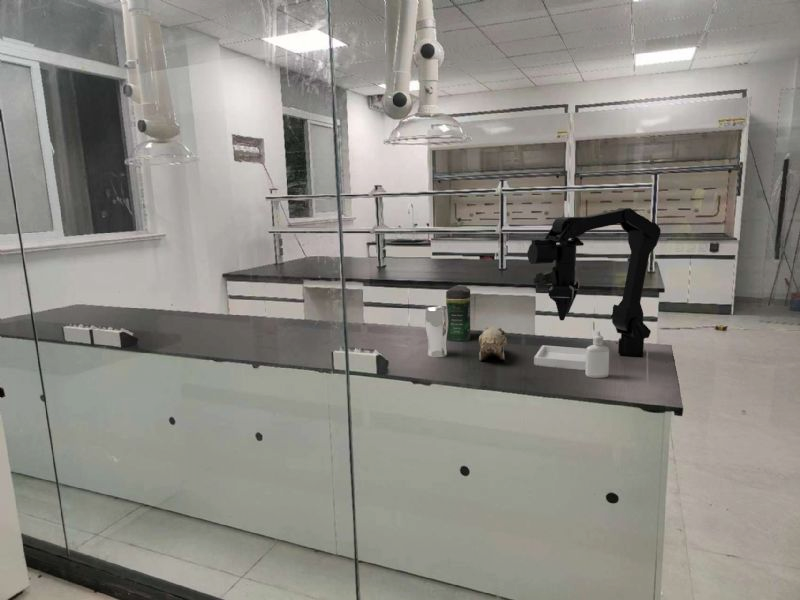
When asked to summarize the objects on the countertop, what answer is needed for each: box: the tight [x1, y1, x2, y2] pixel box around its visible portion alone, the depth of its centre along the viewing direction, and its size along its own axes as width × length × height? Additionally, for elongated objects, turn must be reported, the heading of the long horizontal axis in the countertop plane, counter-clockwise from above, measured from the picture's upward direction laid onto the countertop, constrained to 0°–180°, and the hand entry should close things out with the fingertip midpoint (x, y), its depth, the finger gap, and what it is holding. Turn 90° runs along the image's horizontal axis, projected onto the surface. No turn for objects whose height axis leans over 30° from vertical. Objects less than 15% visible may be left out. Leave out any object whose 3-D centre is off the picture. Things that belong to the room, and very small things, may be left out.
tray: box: [533, 344, 587, 371], centre depth 156 cm, size 14×14×2 cm
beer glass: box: [424, 305, 448, 358], centre depth 163 cm, size 7×7×15 cm
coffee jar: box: [445, 285, 471, 343], centre depth 182 cm, size 10×8×19 cm
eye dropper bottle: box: [584, 330, 610, 379], centre depth 141 cm, size 4×6×12 cm
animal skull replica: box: [478, 326, 508, 362], centre depth 160 cm, size 8×17×10 cm, turn 163°
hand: (564, 317), depth 154 cm, fingers open, 9 cm apart
